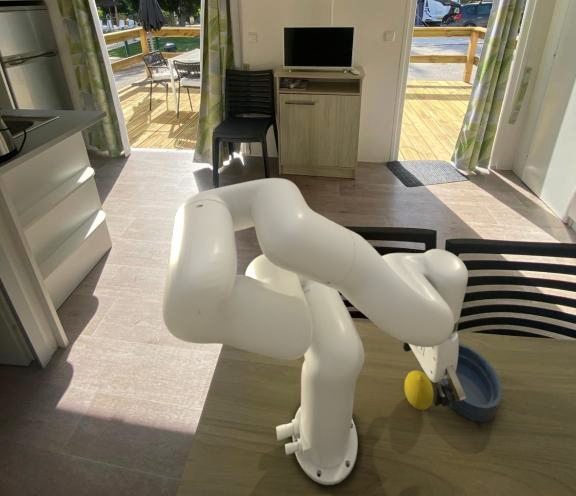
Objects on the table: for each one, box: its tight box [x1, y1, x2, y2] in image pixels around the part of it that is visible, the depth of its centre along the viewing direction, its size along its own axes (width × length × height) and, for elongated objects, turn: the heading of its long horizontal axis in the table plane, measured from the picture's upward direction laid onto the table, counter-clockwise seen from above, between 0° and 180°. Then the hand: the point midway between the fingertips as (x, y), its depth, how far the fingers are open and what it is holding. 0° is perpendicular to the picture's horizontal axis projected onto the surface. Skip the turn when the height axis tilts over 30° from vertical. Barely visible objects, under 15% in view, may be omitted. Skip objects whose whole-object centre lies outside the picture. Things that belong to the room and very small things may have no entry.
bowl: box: [435, 343, 503, 423], centre depth 65 cm, size 12×12×5 cm
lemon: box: [403, 369, 434, 411], centre depth 62 cm, size 6×6×8 cm
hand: (424, 373), depth 60 cm, fingers open, 9 cm apart
